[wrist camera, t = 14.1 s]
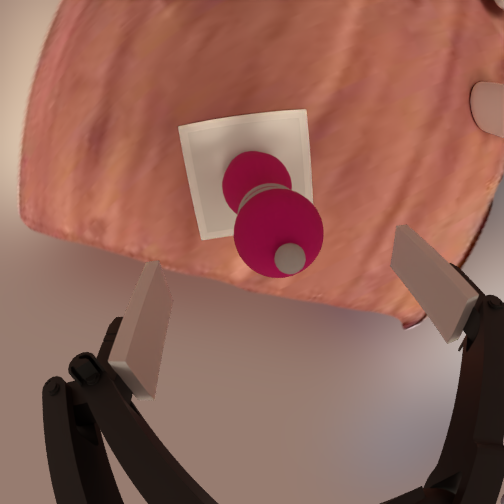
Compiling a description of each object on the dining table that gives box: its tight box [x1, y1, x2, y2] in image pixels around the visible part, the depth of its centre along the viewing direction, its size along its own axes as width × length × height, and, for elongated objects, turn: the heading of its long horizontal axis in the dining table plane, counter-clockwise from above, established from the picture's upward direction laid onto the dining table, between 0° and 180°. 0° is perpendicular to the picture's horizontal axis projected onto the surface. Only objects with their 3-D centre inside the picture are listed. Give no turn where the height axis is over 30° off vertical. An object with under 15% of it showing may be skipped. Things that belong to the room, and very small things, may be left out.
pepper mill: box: [222, 151, 324, 278], centre depth 23 cm, size 7×7×20 cm
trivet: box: [178, 109, 313, 240], centre depth 33 cm, size 15×15×1 cm
